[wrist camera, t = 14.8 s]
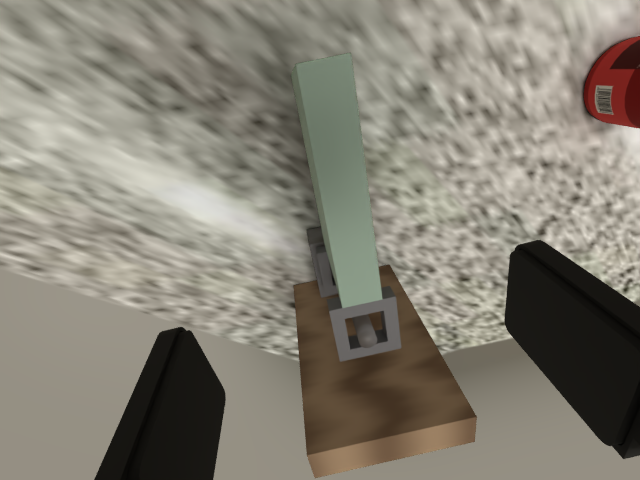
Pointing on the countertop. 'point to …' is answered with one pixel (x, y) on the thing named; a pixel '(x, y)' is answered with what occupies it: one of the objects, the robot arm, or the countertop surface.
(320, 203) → the door
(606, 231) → the countertop surface
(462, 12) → the countertop surface
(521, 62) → the countertop surface
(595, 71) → the canned food
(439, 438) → the cabinet side
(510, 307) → the robot arm
